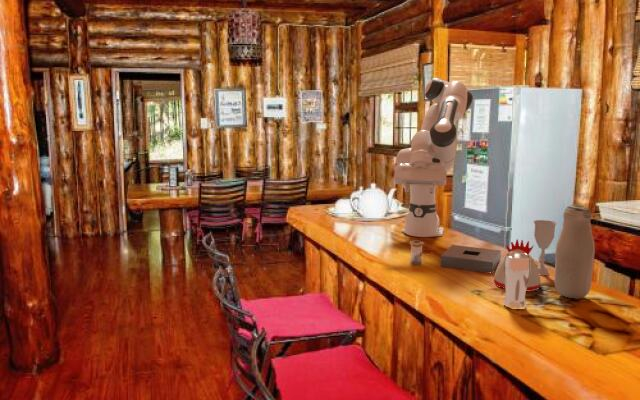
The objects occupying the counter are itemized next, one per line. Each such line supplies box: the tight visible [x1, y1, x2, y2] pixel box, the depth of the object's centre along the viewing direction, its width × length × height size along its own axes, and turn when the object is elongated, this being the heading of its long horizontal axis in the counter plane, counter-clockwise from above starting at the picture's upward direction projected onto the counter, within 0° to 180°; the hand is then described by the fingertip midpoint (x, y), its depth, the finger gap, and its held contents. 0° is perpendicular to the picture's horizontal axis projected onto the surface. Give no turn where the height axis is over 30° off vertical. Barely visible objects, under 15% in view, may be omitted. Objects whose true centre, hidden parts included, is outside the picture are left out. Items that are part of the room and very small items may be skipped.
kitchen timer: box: [493, 238, 541, 290], centre depth 169 cm, size 14×14×15 cm
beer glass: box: [503, 252, 531, 308], centre depth 150 cm, size 7×7×15 cm
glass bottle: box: [553, 204, 596, 300], centre depth 157 cm, size 10×10×28 cm
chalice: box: [533, 219, 558, 276], centre depth 181 cm, size 7×7×18 cm
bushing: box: [409, 239, 425, 266], centre depth 194 cm, size 5×5×8 cm
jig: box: [439, 244, 502, 274], centre depth 194 cm, size 18×18×4 cm
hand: (419, 192), depth 204 cm, fingers open, 8 cm apart
